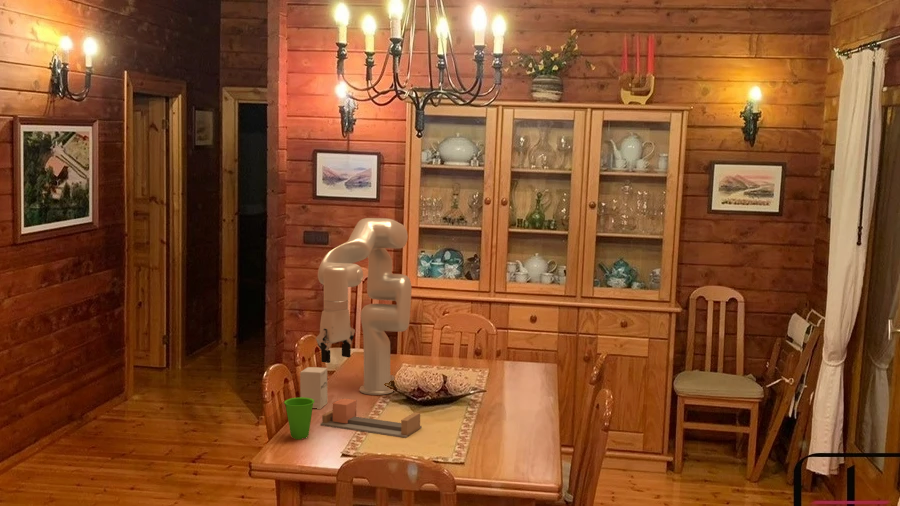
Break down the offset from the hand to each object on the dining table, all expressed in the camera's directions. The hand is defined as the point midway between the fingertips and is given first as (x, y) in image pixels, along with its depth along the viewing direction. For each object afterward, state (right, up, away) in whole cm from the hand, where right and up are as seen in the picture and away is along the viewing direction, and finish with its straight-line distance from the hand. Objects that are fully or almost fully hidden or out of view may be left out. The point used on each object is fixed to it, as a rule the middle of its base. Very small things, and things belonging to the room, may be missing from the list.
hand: (336, 359), depth 286 cm
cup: (-10, -22, -11) cm, 27 cm away
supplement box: (-10, -19, +22) cm, 31 cm away
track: (+11, -21, 0) cm, 24 cm away
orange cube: (+2, -20, +3) cm, 21 cm away
